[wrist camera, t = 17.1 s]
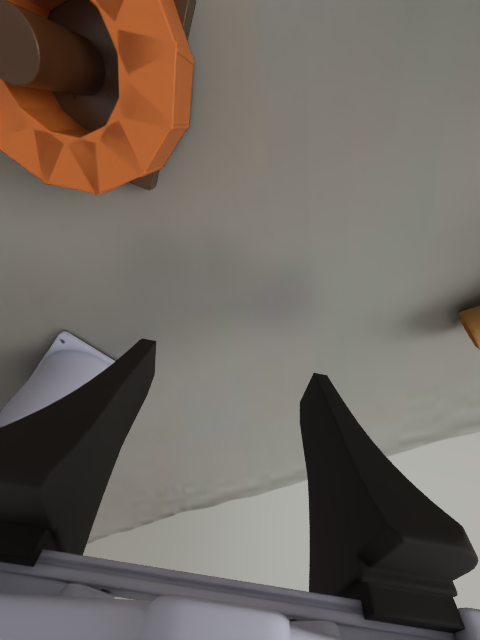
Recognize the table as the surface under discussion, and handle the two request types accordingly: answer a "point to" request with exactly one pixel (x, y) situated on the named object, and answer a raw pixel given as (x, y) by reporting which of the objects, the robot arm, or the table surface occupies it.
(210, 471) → the table surface
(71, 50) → the stand
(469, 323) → the kendama
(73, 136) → the ring
